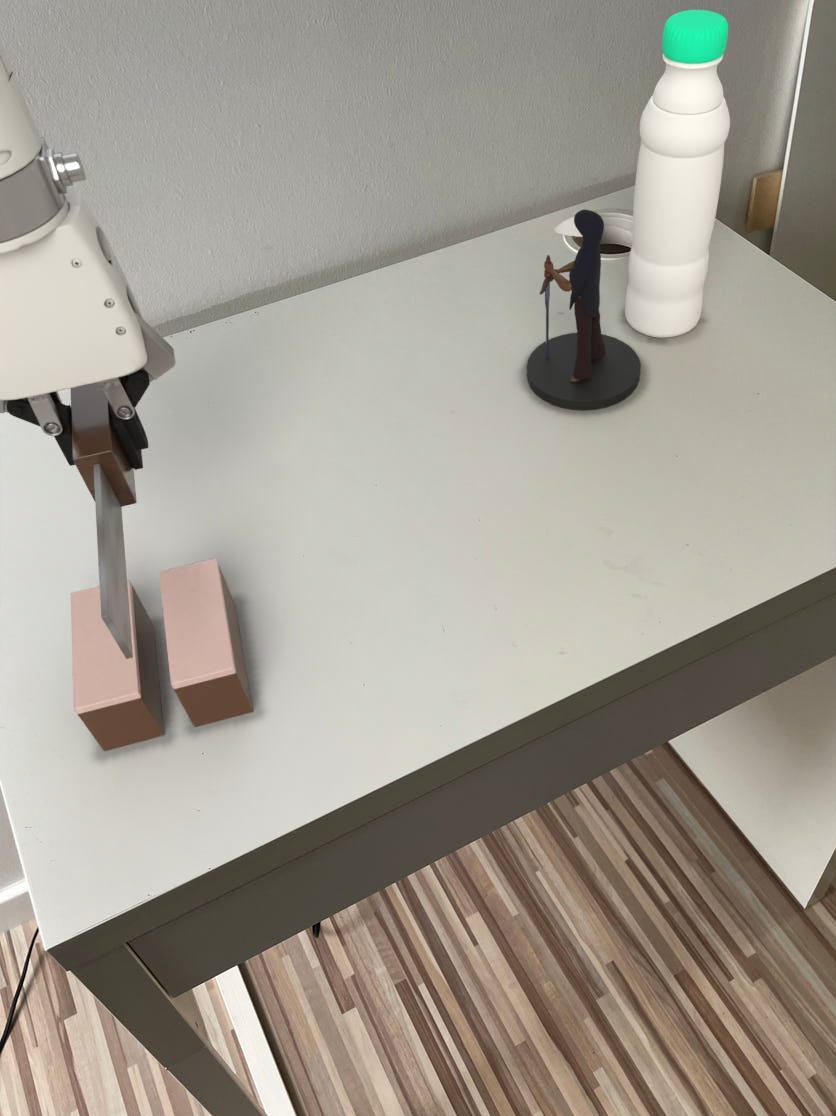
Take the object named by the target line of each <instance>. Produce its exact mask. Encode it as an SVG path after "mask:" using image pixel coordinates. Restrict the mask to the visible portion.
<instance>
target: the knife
mask: <svg viewBox="0 0 836 1116" xmlns="http://www.w3.org/2000/svg"><path fill="white" fill-rule="evenodd" d="M70 406H71V420H72V453H73V461H74V463H75V465H74V466H75V467H76V469H77V471H78V473H79V474H80V476H81V478H82V480H83V482H84V484H85V486H86V488H87V490H88V492H89V494H90V496H91V498H92V499H93V501H94V503H95V505H94V506H95V524H96V542H97V560H98V561H97V562H98V581H99V582H98V583H99V586H100V603H101V618H102V619H103V621H104V623H105V624H106V626H107V628H108V629H109V631H110V633H111V634H112V636H113V638H114V639H115V641H116V643H117V644H118V646H119V648H120V649H121V651H122V653H123V654H124V656H125V658H126V659H129V658H133V651H132V638H131V625H130V612H129V599H128V586H127V579H128V574H127V573H128V572H127V562H126V561H127V559H126V547H125V537H124V533H125V532H124V522H123V509H122V507H126V506H130V505H131V506H132V505H134V504H135V505H136V504H137V503H138V502H137V491H136V481H135V480H136V479H135V469H134V468H131V466H130V463H129V461H128V459H127V457H126V455H125V453H124V451H123V448H122V446H121V444H120V442H119V440H118V438H117V436H116V433H115V431H114V429H113V426H112V418H111V411H110V404H109V402H108V400H107V398H106V396H105V394H104V392H103V390H102V388H101V386H100V385H99V383H98V382H97V383H92V384H88V385H83V386H79V387H74V388H70Z"/></svg>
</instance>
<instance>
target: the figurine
mask: <svg viewBox="0 0 836 1116" xmlns="http://www.w3.org/2000/svg"><path fill="white" fill-rule="evenodd" d="M553 231H554V232H555V233H557V234H559V235H564V236H570V237H575V239H576V240H577V242H578V243H580V244H581V247H580V248H579V250H578V251H577V253H576V255H575V258H574V260H573V261H571V262H568V263H567V264H564V265H563V266H561V267H559V268H558V269H557V268H554V263H553V261H551V256H550V255H549V254H548V255H546V257H545V261H544V262H543V263H544V264H543V267H544V269H543V277H544V280H543V282H542V285H541V288H540V291H539V295H543V294H544V305H545V341H543V342H542V343H541V344H539V345H538V346H537V347H536V348H534V350H533V351H532V352H531V353H530V355H529V356H528V359H527V363H526V380H527V383H528V386H529V388H530V390H531V391H532V392H533V393H534V395H536V396H537V397H538V398H539V399H541V400H542V401H543V402H546V403H548V404H550V405H552V406H554V407H558V408H561V409H567V410H570V411H596V410H600V409H605V408H609V407H612V406H615V405H617V404H619V403H621V402H623V401H624V400H626V399H627V398H628V397H629V396H631V395H632V394H633V393H634V391H635V390H636V389H637V388H638V386H639V383H640V378H641V368H642V367H641V366H642V363H641V360H640V357H639V356H638V354H637V352H636V351H635V350H634V349H633V348H632V347H631V346H630V345H629V344H627V343H625V342H624V341H623V340H621V339H619V338H616V337H614V336H611V335H607V334H603V333H602V327H601V313H600V305H601V304H600V303H601V295H600V285H601V284H600V283H601V270H602V269H601V268H602V255H601V254H602V253H601V248H600V244H601V243H602V242H601V241H602V238H603V235H604V231H605V222H604V219H603V218H602V216H601V215H600V214H599V213H597V212H596V211H593V210H589V209H580V210H579V211H577V212H576V213H575V214H574V215H573V216H571V217H569V218H567V219H565V220H563V221H561V222H559V224H557V225H556V226H554V229H553ZM562 273H563V274H564V273H568V278H569V279H567V277H564V275H562ZM553 281H555V283H556V284H557V286H558V288H559V289H560V290H561V291H563V292H565V293H566V292H567V293H568V292H571V293H570V298H569V306H568V307H569V311H571V310H572V309H573V310H574V319H575V326H576V332H570V333H565V334H560V335H557V336H555V337H552V338H549V337H550V336H549V335H550V334H549V333H550V332H549V331H550V330H549V329H550V299H551V298H550V297H551V282H553ZM573 306H574V307H573Z"/></svg>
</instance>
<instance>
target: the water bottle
mask: <svg viewBox="0 0 836 1116" xmlns="http://www.w3.org/2000/svg"><path fill="white" fill-rule="evenodd" d="M663 26H664V27H663V31H662V39H661V40H662V41H661V50H662V60H663V62H664V63H665V69H664V72H663V74H662V75H661V77H660V79H659V80H658V82H657V83H656V85H655V87H654V91H653V92H652V93H653V94H652V95H651V96H650V98H649V99H648V101H647V103H646V105H645V107H644V109H643V111H642V113H641V116H640V119H639V120H640V121H639V136H640V137H639V138H640V146H639V152H638V158H637V164H636V165H637V166H636V174H635V181H634V182H635V183H634V184H635V185H634V193H633V194H634V195H633V207H632V208H633V209H632V245H631V248H630V252H629V258H628V269H627V270H628V271H627V272H628V273H627V274H628V284H627V289H626V295H625V301H624V317H625V320H626V322H627V323H628V325H630V327H631V328H633V329H634V330H635V331H636V332H637V333H640V334H642V335H645V336H648V337H652V338H657V339H658V338H660V339H667V338H669V339H670V338H675V337H679V336H682V335H684V334H686V333H688V332H689V331H692V329H694V328H695V327H696V326H697V325H698V323H699V321H700V319H701V316H702V312H703V311H702V309H703V301H704V284H705V282H706V278H707V275H708V270H709V260H710V250H709V248H710V247H709V246H710V244H711V239H712V235H713V231H714V226H715V221H716V216H717V210H718V204H719V198H720V193H721V192H720V191H721V185H722V176H723V170H724V169H723V168H724V157H725V156H724V155H725V142H726V141H727V139H728V137H729V132H730V126H731V115H730V110H729V107H728V104H727V100H726V98H725V96H724V89H723V84H722V82H721V80H720V77H719V75H718V72H717V71H718V66H719V63H721V62H722V61H723V58H724V53H725V51H726V48H727V45H728V38H729V23H728V21H727V19H726V18H725V17H724V16H723V15H722V14H720V13H717V12H715V11H712V10H707V9H706V10H705V9H689V10H688V9H687V10H682V11H679V12H676V13H674V14H672V15H670V17H668V19H667V20H666V21H665V24H664V25H663Z"/></svg>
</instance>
